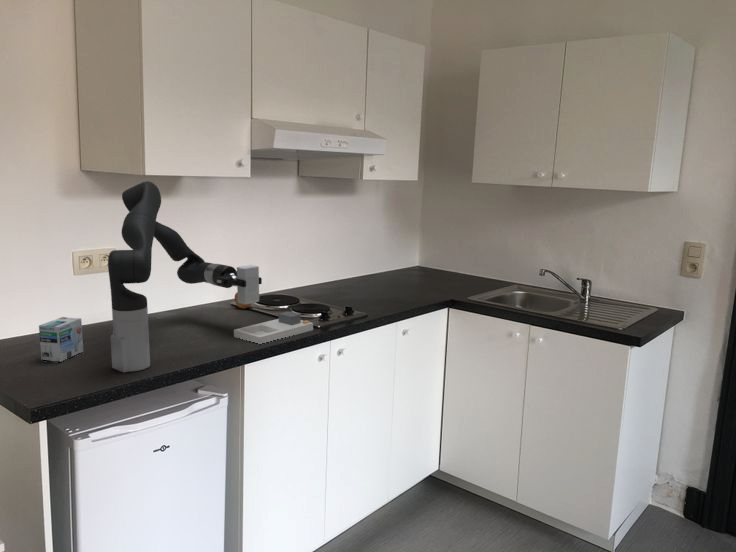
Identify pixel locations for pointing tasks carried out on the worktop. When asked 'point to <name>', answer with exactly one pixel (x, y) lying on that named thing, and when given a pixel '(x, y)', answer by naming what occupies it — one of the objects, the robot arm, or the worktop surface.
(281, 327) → the grey rectangular base
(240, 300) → the skincare box
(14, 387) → the worktop surface
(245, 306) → the apple
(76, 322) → the light bulb box
